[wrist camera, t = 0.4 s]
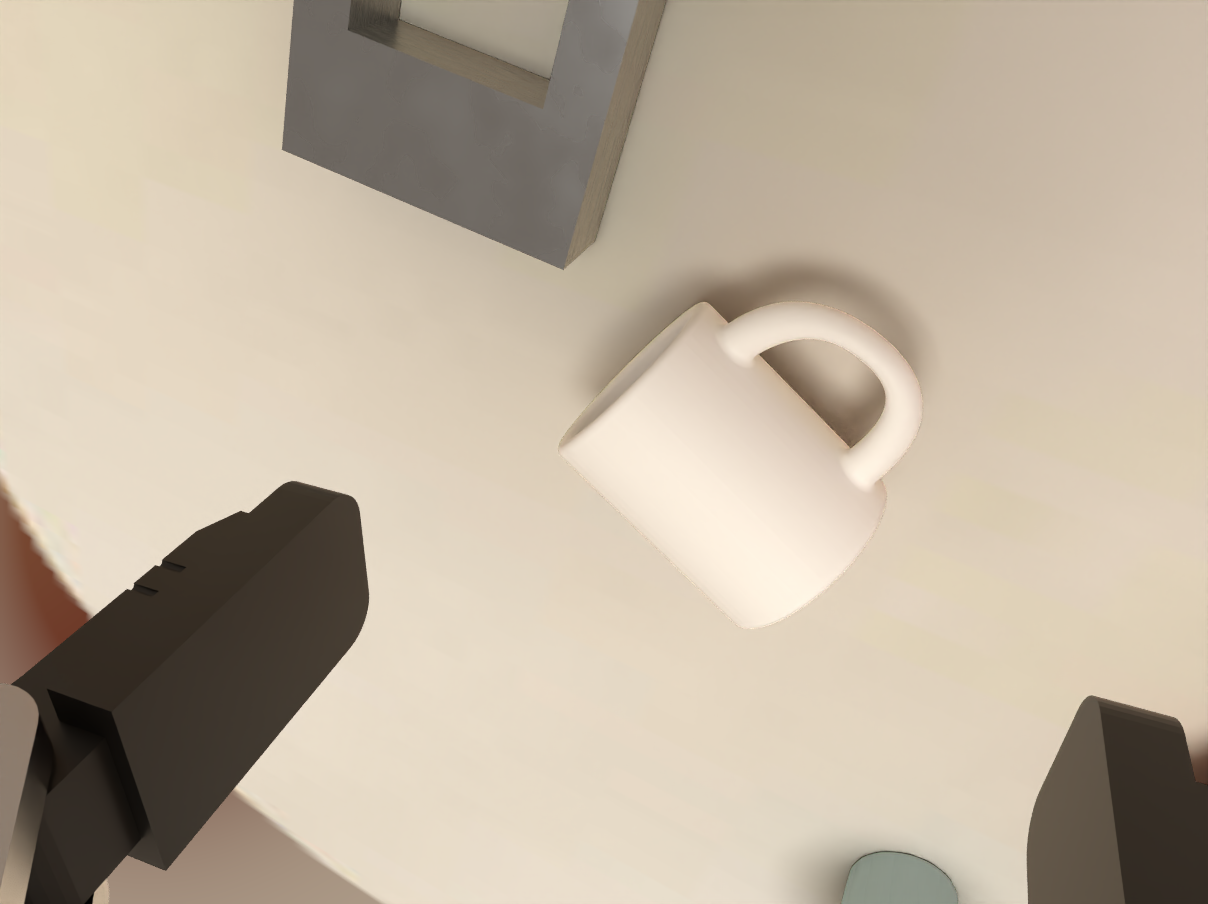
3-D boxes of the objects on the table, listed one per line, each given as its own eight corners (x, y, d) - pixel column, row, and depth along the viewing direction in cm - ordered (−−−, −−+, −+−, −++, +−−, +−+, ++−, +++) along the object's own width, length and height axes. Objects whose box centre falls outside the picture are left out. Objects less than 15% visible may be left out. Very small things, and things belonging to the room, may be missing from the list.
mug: (755, 544, 42) (714, 663, 36) (597, 389, 41) (525, 483, 34) (983, 392, 35) (984, 505, 29) (802, 200, 34) (761, 273, 28)
